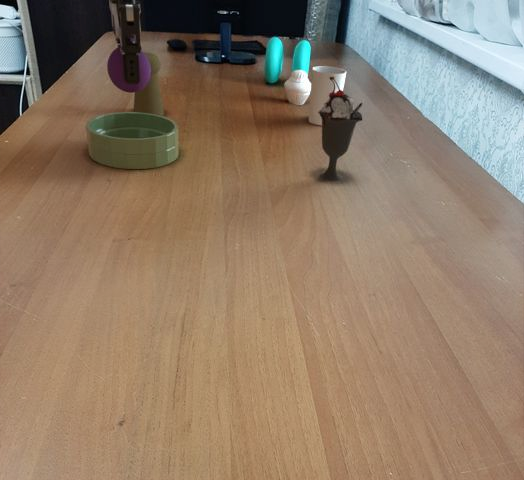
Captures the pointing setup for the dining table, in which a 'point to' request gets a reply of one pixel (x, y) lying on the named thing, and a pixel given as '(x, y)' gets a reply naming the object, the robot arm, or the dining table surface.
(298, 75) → the muffin
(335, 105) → the sundae
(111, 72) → the ball
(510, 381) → the dining table surface
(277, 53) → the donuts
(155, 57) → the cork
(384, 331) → the dining table surface
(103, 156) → the bowl
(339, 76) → the white paper cup
